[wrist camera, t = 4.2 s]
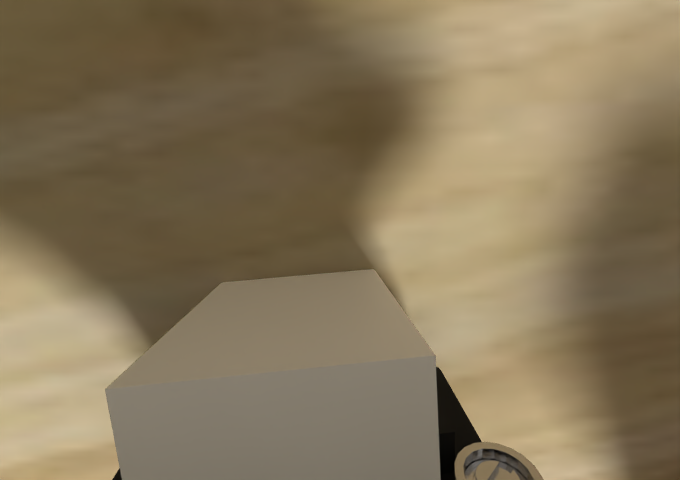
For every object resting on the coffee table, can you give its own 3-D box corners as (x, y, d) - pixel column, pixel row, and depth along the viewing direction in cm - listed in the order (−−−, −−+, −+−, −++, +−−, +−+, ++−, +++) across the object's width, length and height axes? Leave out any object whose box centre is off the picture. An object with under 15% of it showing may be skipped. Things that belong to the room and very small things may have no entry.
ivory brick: (222, 281, 9) (105, 388, 4) (373, 268, 9) (435, 355, 4) (252, 515, 10) (187, 829, 5) (388, 499, 10) (453, 786, 5)
